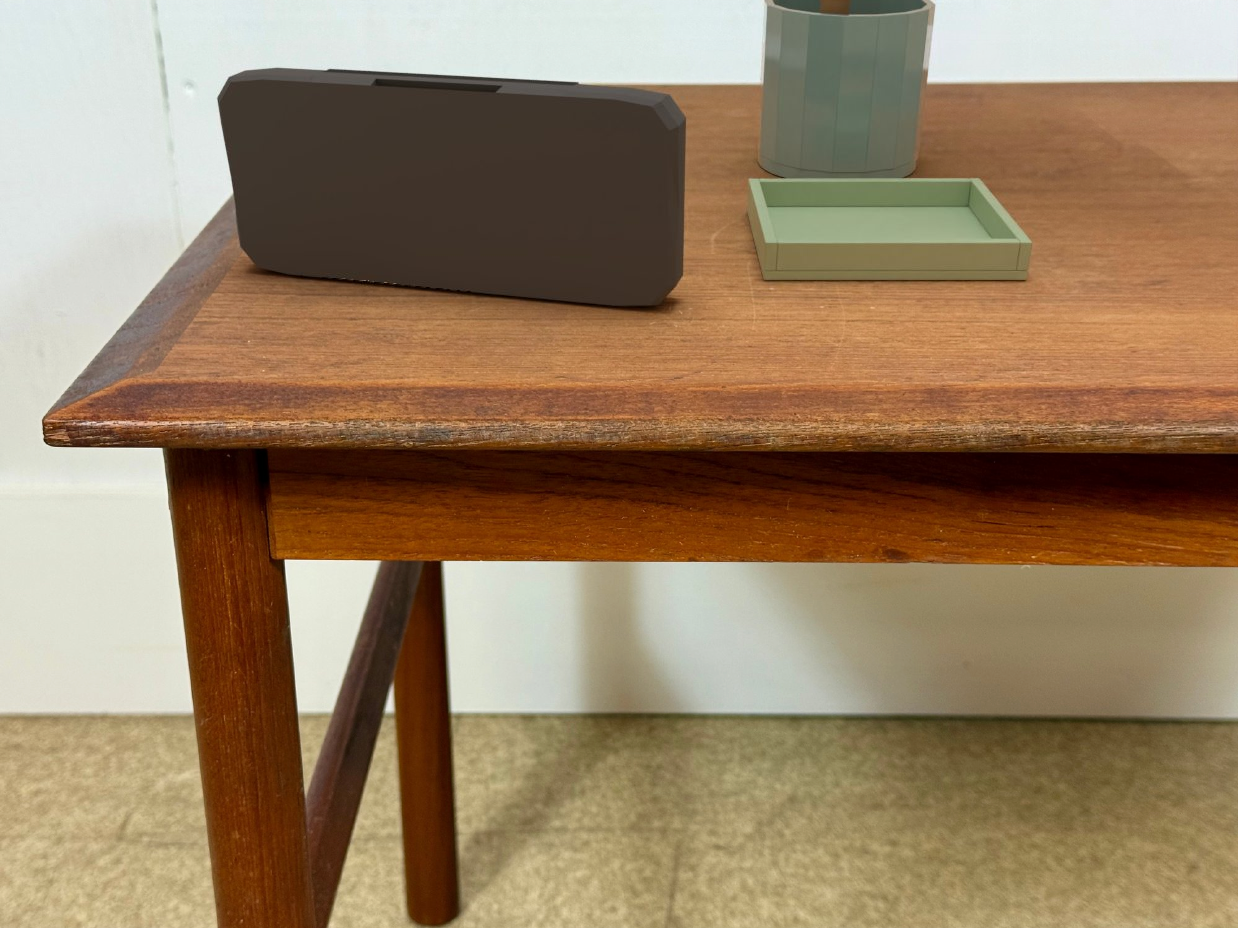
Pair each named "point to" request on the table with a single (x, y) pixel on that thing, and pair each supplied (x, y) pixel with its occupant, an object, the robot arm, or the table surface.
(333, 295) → the table surface
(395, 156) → the chamfered brown slab
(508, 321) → the table surface
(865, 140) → the crock
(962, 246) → the tray
